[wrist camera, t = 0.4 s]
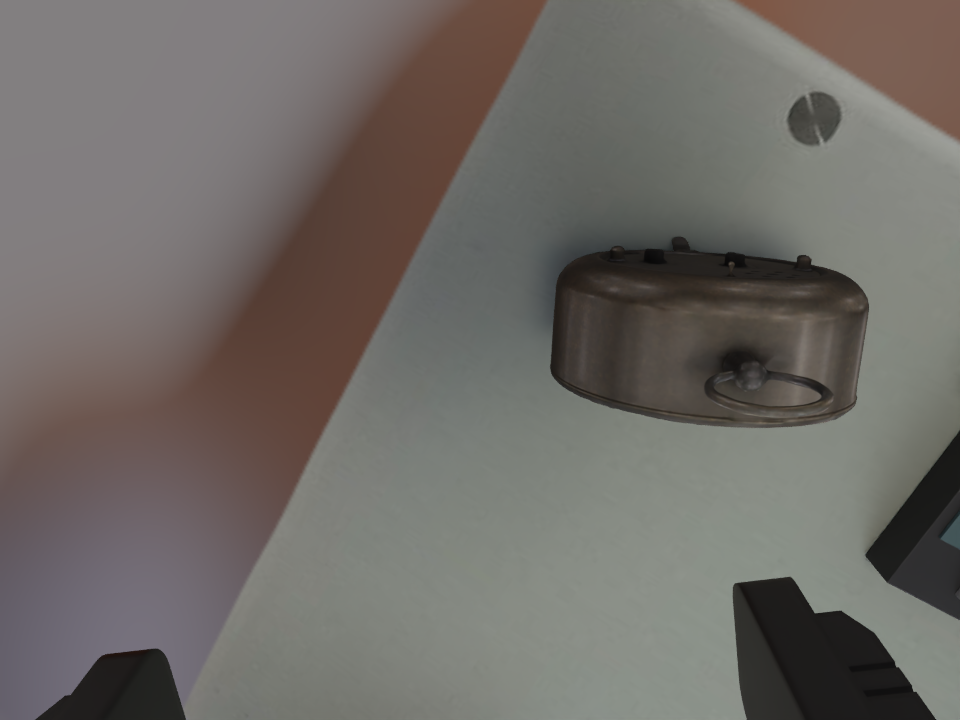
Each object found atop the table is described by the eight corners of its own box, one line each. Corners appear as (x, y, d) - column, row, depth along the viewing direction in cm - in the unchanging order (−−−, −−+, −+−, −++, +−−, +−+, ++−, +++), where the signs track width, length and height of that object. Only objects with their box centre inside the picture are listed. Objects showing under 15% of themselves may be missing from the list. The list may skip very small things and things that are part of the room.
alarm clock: (542, 338, 37) (567, 496, 22) (550, 218, 36) (584, 296, 20) (784, 351, 37) (985, 519, 21) (803, 231, 35) (1035, 319, 20)
